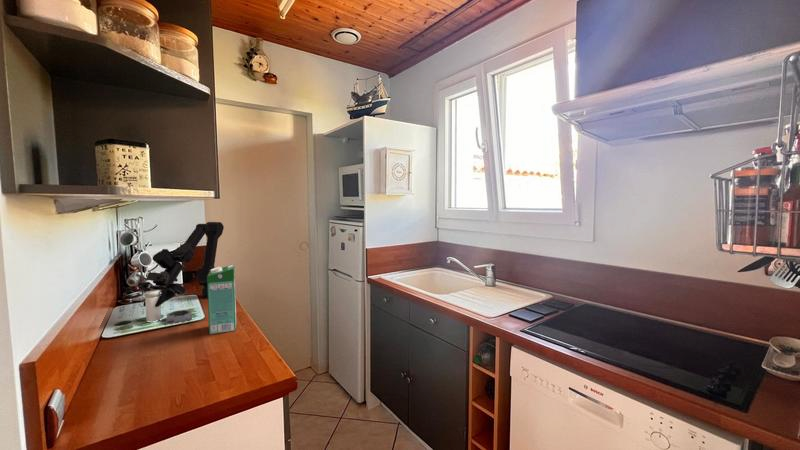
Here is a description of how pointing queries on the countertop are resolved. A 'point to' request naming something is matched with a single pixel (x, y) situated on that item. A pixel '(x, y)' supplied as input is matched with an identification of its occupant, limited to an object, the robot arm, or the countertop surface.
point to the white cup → (152, 305)
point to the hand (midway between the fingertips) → (150, 306)
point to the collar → (179, 316)
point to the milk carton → (221, 299)
